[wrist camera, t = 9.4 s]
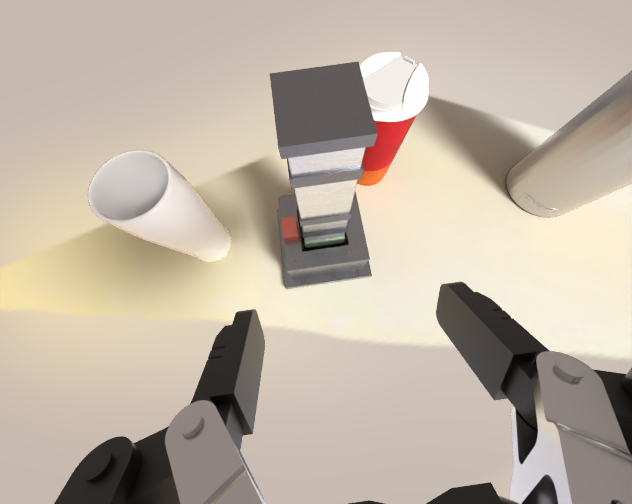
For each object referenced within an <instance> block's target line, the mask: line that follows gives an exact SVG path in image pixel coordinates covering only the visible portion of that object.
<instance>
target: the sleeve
mask: <svg viewBox="0 0 632 504" xmlns="http://www.w3.org/2000/svg"><path fill="white" fill-rule="evenodd" d="M279 205H280V209H279V210H277V212H278V221H279V231H280V240H281V250H282V259H283V269H284V278H285V288H286V289H291V288H298V287H305V286H312V285H319V284H326V283H332V282H339V281H346V280H353V279H360V278H367V277H371V276H372V274H371V270H370V265H369V259H370V258H369V253H368V249H367V244H366V239H365V235H364V230H363V225H362V221H361V216H360V211H359V207H358V202H357V197H356V193H355V192H354V196H353V200H352V205H351V214H352V215H351V218H350V219H349V220H348V221H347V226H348V230H347V232H345V233H344V235H345V241H344V242H342V246H339V247H332V248H325V249H318V250H311V251H304V246H303V239H302V231H301V229H302V226H301V225H300V221H299V213H298V206H297V198H296V195H289V196H282V197H279Z"/></svg>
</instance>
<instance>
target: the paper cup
mask: <svg viewBox="0 0 632 504" xmlns="http://www.w3.org/2000/svg"><path fill="white" fill-rule="evenodd" d="M360 70H361V74H362V77H363V81H364V85H365V89H366V92H367V96H368V100H369V104H370V107H371V111H372V115H373V119H374V123H375V126H376V130H377V137H376V141H375V144H374V146H371V147H365V151H364V155H363V159H362V164H363V168H364V170H363V173H362V177H361V179H358V180H357V183H358V184H360V185H365V186H369V185H374V184H376V183H378V182H379V181H380V180H381V179H382V178H383V177H384V175H385V173H386V172H387V170H388V168H389V166H390V164H391V162H392V161H393V159H394V157H395V155H396V153H397V151H398V149H399V147H400V145H401V144H402V142H403V140H404V138H405V136H406V134H407V132H408V130H409V128H410V126H411V125H412V123H413V121H414V119H415V117H416V115H417V114H418V113H419V112H420V111H421V110H422V109H423V108H424V106H425V105H426V103H427V100H428V96H429V92H428V91H429V90H428V86H429V77H428V73H427V71H426V69H425V67H424V66H423V65H422V64H421V63H420V64H417V63H415V60H414V59H412V58H410V57H407V56H404V57H403V56H401V53H398V52H384V53H379V54H375V55H373V56H371V57H369V58H368V59H366V60H365V61H364V62H363V63H362V64H361V65H360Z"/></svg>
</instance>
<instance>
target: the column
mask: <svg viewBox="0 0 632 504" xmlns="http://www.w3.org/2000/svg"><path fill="white" fill-rule="evenodd" d="M270 79H271V88H272V96H273V105H274V114H275V122H276V131H277V139H278V148H279V152H280V156H281V159H285V158H287V163H288V171H289V178H290V183H291V187H292V189H295V193H296V198H297V206H298V213H299V221H300V225H301V226H302V233H303V238H304V241H305V247H306V248H310V247H317V246H323V245H330V244H337V243H342V242H344V241H345V235H344V233H345V232H347V230H348V226H347V221H348V220H349V219H350V218H351V215H352V214H351V205H352V200H353V196H354V192H355V188H356V184H357V180H358V179H361V177H362V173H363V170H364V168H363V164H362V159H363V155H364V151H365V147H371V146H374V144H375V141H376V137H377V130H376V126H375V123H374V119H373V115H372V111H371V107H370V104H369V100H368V96H367V92H366V89H365V85H364V81H363V77H362V74H361V70H360V66H359V62H352V63H345V64H338V65H330V66H323V67H315V68H308V69H301V70H294V71H286V72H279V73H271V74H270Z"/></svg>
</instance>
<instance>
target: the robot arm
mask: <svg viewBox="0 0 632 504" xmlns="http://www.w3.org/2000/svg"><path fill="white" fill-rule="evenodd" d="M630 184H632V71H630V72H629V73H628V74H627V75H626V76H624V77H623V78H622V79H621V80H620V81H618V82H617V83H616V84H614V85H613V86H612V87H611V88H610V89H608V90H607V91H606V92H605V93H603V94H602V95H601V96H600V97H599V98H597V99H596V100H595V101H594V102H592V103H591V104H590V105H589V106H587V107H586V108H585V109H584V110H583V111H581V112H580V113H579V114H578V115H576V116H575V117H574V118H573V119H572V120H570V121H569V122H568V123H567V124H566V125H564V126H563V127H562V128H561V129H559V130H558V131H557V132H555V133H554V134H553V135H552V136H551V137H549V138H548V139H547V140H546V141H544V142H543V143H542V144H541V145H539V146H538V147H537V148H536V149H534V150H533V151H532V152H531V153H529V154H528V155H527V156H526V157H525V158H523V159H522V160H521V161H520V162H518V163H517V164H516V165H515V166H514V167H513V168H512V169H511V170H510V171H509V173H508V176H507V188H508V191H509V194H510V196H511V197H512V199H513V200H514V201H515V202H516V203H517V204H518V205H519V206H520V207H521V208H523V209H524V210H526V211H527V212H529V213H532V214H534V215H537V216H541V217H557V216H560V215H563V214H565V213H567V212H569V211H572V210H574V209H576V208H578V207H581V206H583V205H585V204H587V203H590V202H592V201H594V200H597V199H599V198H601V197H603V196H606V195H608V194H610V193H612V192H614V191H617V190H619V189H621V188H623V187H626V186H628V185H630ZM436 316H437V320H438V322H439V324H440V326H441V327H442V329H443V330H444V332H445V333H446V334H447V336H448V337H449V338H450V340H451V341H452V343H453V344H454V345H455V347H456V348H457V349H458V351H459V352H460V353H461V355H462V356H463V358H464V359H465V360H466V362H467V363H468V364H469V366H470V367H471V369H472V370H473V372H474V373H475V374H476V375H477V377H478V378H479V380H480V381H481V383H482V384H483V385H484V387H485V388H486V389H487V391H488V392H489V394H490V395H491V396H492V398H493V399H494V400H500V399H506V398H508V399H509V400H510V402H511V403H512V404H513V406H512V408H511V423H512V444H513V476H512V480H511V485H510V497H509V499H506V498H503V497H500V496H498V495H497V493H496V491H495V489H494V487H493V486H492V484H491V483H484V484H477V485H470V486H463V487H458V488H451V489H449V490H448V491H446V492H445V493H443V494H441V495H440V496H438V497H436V498H435V499H433V500H432V501H430V502H428V503H427V504H632V368H631V369H630V371H629V372H628V373H627V374H621V373H613V372H606V371H599V370H593V369H591V368H590V367H589V366H588V365H586V364H585V363H583V362H581V361H580V360H578V359H576V358H574V357H572V356H569V355H566V354H563V353H560V352H554V351H549V350H548V349H547V348H546V347H544V346H543V345H542V344H541V343H540V342H539V341H538V340H537V339H535V338H534V337H533V336H532V335H531V334H530V333H529V332H528V331H526V330H525V329H524V328H523V327H522V326H521V325H520V324H518V323H517V322H516V321H515V320H514V319H511V316H509V315H508V314H507V313H506V312H505V311H502V308H500V307H499V306H498V305H497V304H496V303H495V302H494V301H493V300H491V299H490V298H488V297H486V296H484V295H482V294H480V293H478V292H473V291H472V290H471V289H470V288H469V287H468V286H467V285H466V284H465V283H463V282H455V283H448V284H442V285H441V287H440V292H439V298H438V304H437V310H436ZM264 349H265V341H264V335H263V331H262V328H261V324H260V321H259V318H258V315H257V312H256V310H255V309H254V310H246V311H239V312H237V313H236V315H235V318H234V321H233V324H232V325H229V326H225V327H224V328H223V329H222V330H221V331H220V333H219V334H218V335H217V336H216V338H215V341H214V344H213V347H212V350H211V352H210V354H209V357H208V360H207V362H206V365H205V368H204V371H203V373H202V376H201V379H200V381H199V383H198V386H197V389H196V392H195V394H194V397H193V399H192V401H191V403H190V405H188V406H187V407H185V408H184V409H182V410H181V411H180V412H179V413H178V414H177V415H176V416H175V418H174V419H173V421H172V422H171V424H170V426H168V427H167V428H165V429H163V430H161V431H159V432H157V433H155V434H153V435H150V436H149V437H146V438H144V439H142V440H140V441H138V442H136V443H132V442H131V441H130V440H129V439H128V438H126V437H115V438H112V439H110V440H107V441H106V442H104V443H102V444H101V445H99V446H98V447H96V448H95V449H94V450H93V451H91V452H90V453H89V454H88V455H87V456H86V457H85V458H84V459H83V460H82V461H81V463H80V464H79V465H78V466H77V468H76V469H75V471H74V472H73V473H72V475H71V477H70V479H69V480H68V482H67V483H66V485H65V487H64V489H63V490H62V492H61V494H60V495H59V497H58V499H57V500H56V502H55V504H266V502H265V500H264V498H263V496H262V494H261V492H260V490H259V488H258V486H257V484H256V482H255V480H254V478H253V476H252V474H251V472H250V470H249V468H248V466H247V464H246V462H245V460H244V458H243V456H242V454H241V452H240V448H241V442H242V436H243V435H248V434H253V428H254V421H255V414H256V405H257V399H258V392H259V385H260V378H261V370H262V364H263V356H264ZM350 504H383V503H379V502H374V501H364V502H357V503H350Z"/></svg>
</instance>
